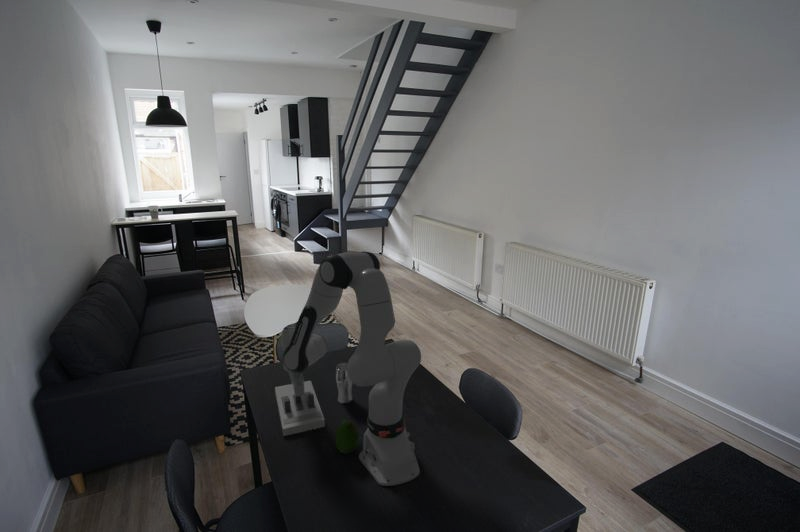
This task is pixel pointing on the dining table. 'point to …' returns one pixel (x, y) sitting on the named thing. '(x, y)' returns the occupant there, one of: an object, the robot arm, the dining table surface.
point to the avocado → (347, 437)
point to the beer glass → (343, 383)
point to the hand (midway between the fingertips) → (297, 394)
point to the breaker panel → (298, 409)
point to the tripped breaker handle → (298, 399)
